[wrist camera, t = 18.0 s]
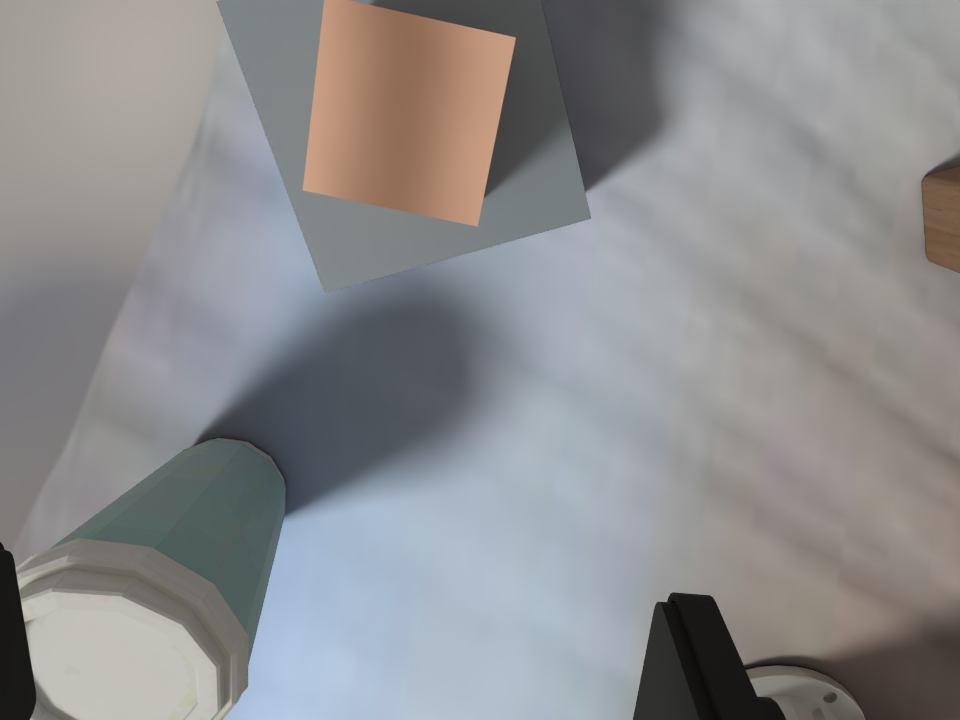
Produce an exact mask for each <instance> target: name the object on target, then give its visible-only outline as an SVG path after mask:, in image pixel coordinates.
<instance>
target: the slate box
mask: <svg viewBox="0 0 960 720" xmlns="http://www.w3.org/2000/svg"><path fill="white" fill-rule="evenodd" d="M350 1H354V2H359V3H363V4H368V5H372V6H377V7H381V8H386V9H390V10H395V11H399V12H404V13H408V14H413V15H417V16H422V17H426V18H430V19H435V20H439V21H444V22H448V23H453V24H457V25H462V26H466V27H471V28H475V29H480V30H484V31H489V32H493V33H498V34H502V35H507V36H511V37H516V40H515V45H514V50H513V55H512V60H511V64H510V69H509V74H508V79H507V84H506V89H505V94H504V99H503V104H502V109H501V114H500V119H499V124H498V129H497V134H496V138H495V143H494V148H493V153H492V158H491V163H490V168H489V173H488V178H487V183H486V188H485V193H484V198H483V203H482V208H481V212H480V217H479V222H478V227H477V226H472V225H467V224H463V223H458V222H453V221H448V220H443V219H439V218H434V217H429V216H424V215H419V214H414V213H410V212H405V211H400V210H395V209H390V208H385V207H381V206H376V205H371V204H366V203H361V202H356V201H352V200H347V199H342V198H337V197H332V196H328V195H323V194H318V193H313V192H308V191H303V183H304V174H305V165H306V156H307V147H308V139H309V130H310V121H311V112H312V103H313V95H314V86H315V77H316V68H317V59H318V50H319V42H320V33H321V24H322V15H323V6H324V0H221V1H218V2H217V5H218V7H219V10H220V13H221V16H222V18H223V21H224V23H225V26H226V29H227V32H228V34H229V37H230V40H231V42H232V45H233V48H234V50H235V53H236V56H237V59H238V61H239V64H240V67H241V69H242V72H243V75H244V77H245V80H246V83H247V85H248V88H249V91H250V93H251V96H252V99H253V102H254V104H255V107H256V110H257V112H258V115H259V118H260V120H261V123H262V126H263V128H264V131H265V134H266V136H267V139H268V142H269V145H270V147H271V150H272V153H273V155H274V158H275V161H276V163H277V166H278V169H279V171H280V174H281V177H282V180H283V182H284V185H285V188H286V190H287V193H288V196H289V198H290V201H291V204H292V206H293V209H294V212H295V214H296V217H297V220H298V223H299V225H300V228H301V231H302V233H303V236H304V239H305V241H306V244H307V247H308V249H309V252H310V255H311V257H312V260H313V263H314V266H315V268H316V271H317V274H318V276H319V279H320V282H321V284H322V287H323V290H324V292H325V293H327V292H331V291H335V290H338V289H342V288H345V287H349V286H352V285H356V284H360V283H363V282H367V281H370V280H374V279H377V278H381V277H385V276H388V275H392V274H395V273H399V272H402V271H406V270H410V269H413V268H417V267H420V266H424V265H427V264H431V263H435V262H438V261H442V260H445V259H449V258H452V257H456V256H460V255H463V254H467V253H470V252H474V251H477V250H481V249H484V248H488V247H492V246H495V245H499V244H502V243H506V242H509V241H513V240H517V239H520V238H524V237H527V236H531V235H534V234H538V233H542V232H545V231H549V230H552V229H556V228H559V227H563V226H567V225H570V224H574V223H577V222H581V221H584V220H588V219H591V216H590V211H589V207H588V203H587V198H586V194H585V189H584V185H583V181H582V176H581V172H580V168H579V163H578V159H577V154H576V150H575V146H574V141H573V137H572V133H571V128H570V124H569V120H568V115H567V111H566V106H565V102H564V98H563V93H562V89H561V85H560V80H559V76H558V72H557V67H556V63H555V58H554V54H553V50H552V45H551V41H550V37H549V32H548V28H547V24H546V19H545V15H544V10H543V6H542V2H541V0H350Z"/></svg>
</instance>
